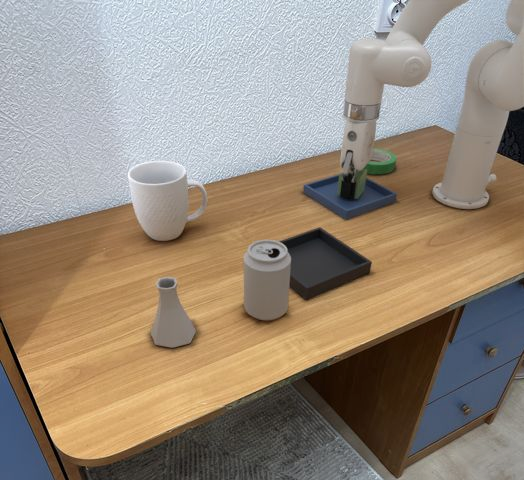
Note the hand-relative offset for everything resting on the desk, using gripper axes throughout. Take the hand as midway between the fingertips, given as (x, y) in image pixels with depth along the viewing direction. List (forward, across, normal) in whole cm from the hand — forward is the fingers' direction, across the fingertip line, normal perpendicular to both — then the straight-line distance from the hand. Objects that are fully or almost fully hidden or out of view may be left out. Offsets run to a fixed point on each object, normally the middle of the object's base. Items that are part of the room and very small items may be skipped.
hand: (351, 191), depth 117 cm
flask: (+1, -59, +10) cm, 60 cm away
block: (0, 0, 0) cm, 0 cm away
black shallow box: (+1, -31, -3) cm, 31 cm away
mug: (+1, -32, +28) cm, 43 cm away
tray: (+1, 0, 0) cm, 1 cm away
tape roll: (+2, +20, 0) cm, 20 cm away
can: (+1, -47, 0) cm, 47 cm away
